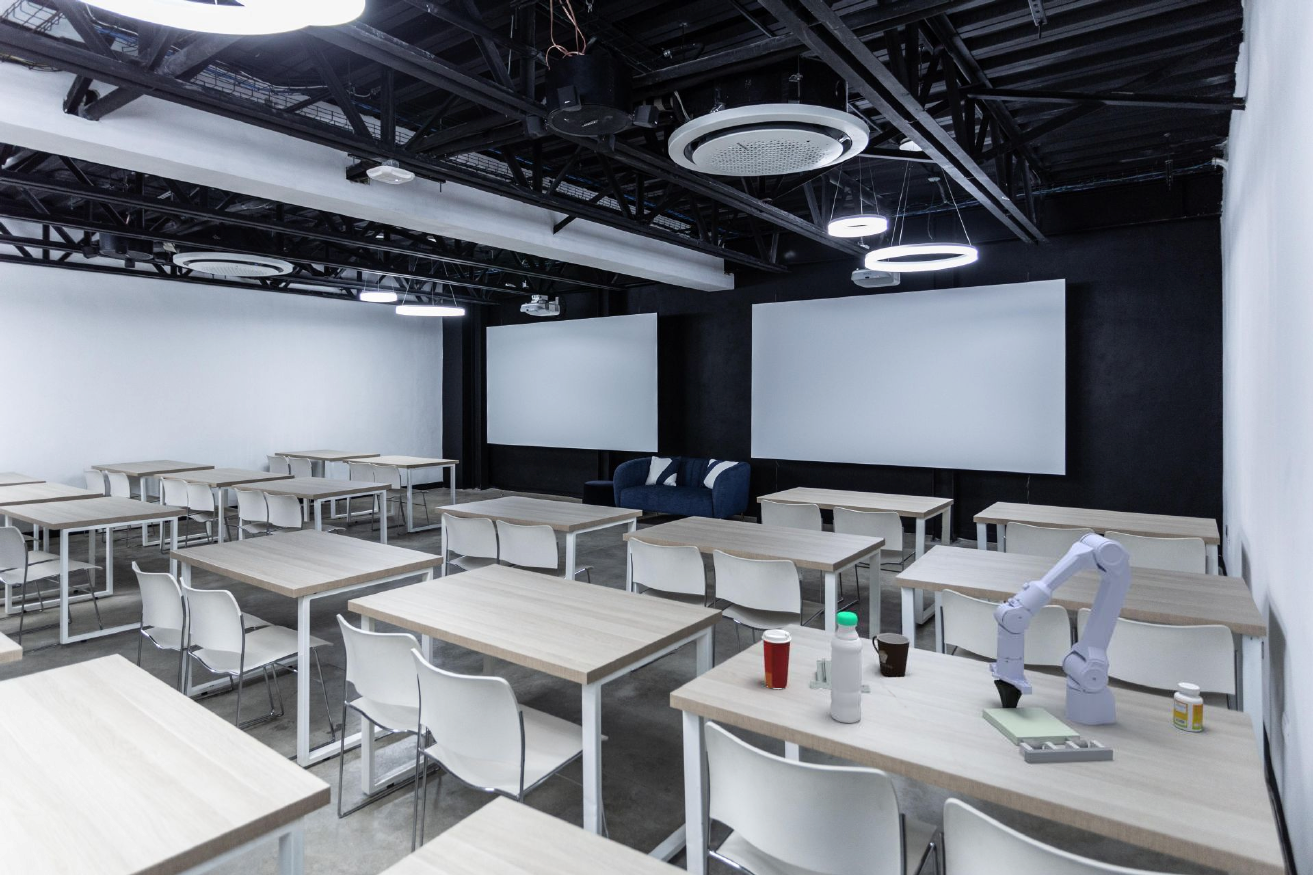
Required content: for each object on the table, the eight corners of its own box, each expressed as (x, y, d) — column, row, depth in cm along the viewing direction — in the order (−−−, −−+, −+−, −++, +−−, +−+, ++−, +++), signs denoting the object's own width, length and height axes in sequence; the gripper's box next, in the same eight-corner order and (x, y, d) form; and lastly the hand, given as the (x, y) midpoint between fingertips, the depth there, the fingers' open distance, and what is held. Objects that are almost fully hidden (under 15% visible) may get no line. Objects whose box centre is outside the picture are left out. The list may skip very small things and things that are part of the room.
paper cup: (795, 683, 187) (795, 631, 187) (784, 693, 181) (784, 639, 180) (768, 677, 192) (768, 626, 191) (756, 686, 185) (756, 634, 184)
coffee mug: (913, 680, 190) (914, 643, 189) (881, 680, 190) (882, 643, 189) (899, 664, 201) (900, 629, 201) (869, 664, 201) (869, 629, 201)
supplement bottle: (1199, 724, 163) (1201, 683, 163) (1204, 734, 159) (1205, 692, 158) (1171, 719, 166) (1172, 679, 165) (1174, 729, 161) (1176, 687, 161)
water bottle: (863, 714, 169) (864, 611, 168) (858, 726, 162) (859, 619, 161) (833, 708, 172) (834, 607, 171) (827, 720, 165) (828, 615, 164)
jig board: (1036, 711, 170) (1036, 697, 170) (1112, 767, 144) (1112, 749, 144) (963, 713, 169) (964, 699, 169) (1027, 770, 143) (1028, 752, 143)
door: (1040, 714, 165) (1040, 707, 165) (1090, 750, 148) (1090, 742, 148) (982, 716, 164) (982, 708, 164) (1026, 752, 147) (1026, 744, 147)
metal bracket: (809, 652, 196) (865, 655, 193) (809, 669, 198) (864, 673, 195) (810, 685, 182) (870, 690, 180) (810, 704, 184) (869, 708, 181)
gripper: (977, 645, 172) (976, 699, 173) (1011, 667, 158) (1009, 726, 158) (1005, 644, 173) (1004, 698, 173) (1041, 666, 158) (1040, 725, 159)
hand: (1009, 712), depth 166 cm, fingers closed
